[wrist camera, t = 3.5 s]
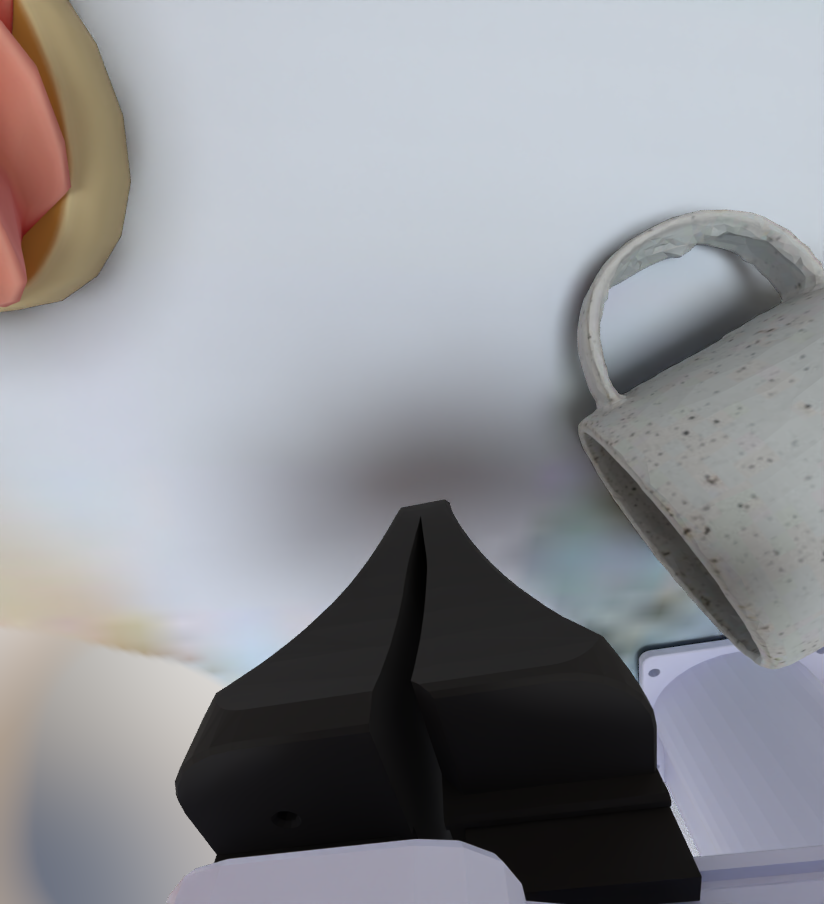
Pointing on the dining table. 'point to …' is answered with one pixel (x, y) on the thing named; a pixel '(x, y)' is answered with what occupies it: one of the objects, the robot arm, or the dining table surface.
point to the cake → (56, 155)
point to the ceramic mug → (725, 441)
